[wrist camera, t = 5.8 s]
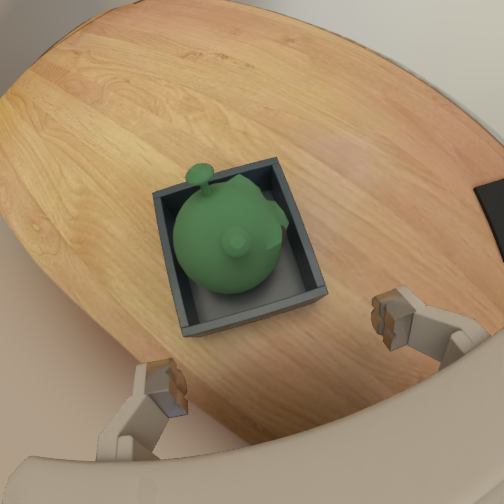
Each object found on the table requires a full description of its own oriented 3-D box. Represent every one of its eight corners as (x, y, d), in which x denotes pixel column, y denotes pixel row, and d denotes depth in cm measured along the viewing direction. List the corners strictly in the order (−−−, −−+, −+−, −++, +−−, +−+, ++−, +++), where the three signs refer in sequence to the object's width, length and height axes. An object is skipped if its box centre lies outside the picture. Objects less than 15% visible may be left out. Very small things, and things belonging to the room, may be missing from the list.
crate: (316, 301, 23) (328, 293, 18) (197, 337, 22) (183, 337, 18) (274, 185, 26) (276, 156, 21) (168, 215, 25) (151, 192, 21)
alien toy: (301, 269, 23) (330, 222, 13) (214, 317, 22) (180, 302, 12) (258, 198, 25) (257, 120, 15) (176, 241, 24) (129, 181, 14)
